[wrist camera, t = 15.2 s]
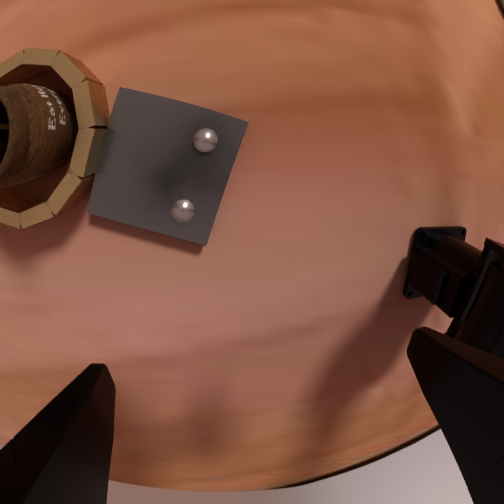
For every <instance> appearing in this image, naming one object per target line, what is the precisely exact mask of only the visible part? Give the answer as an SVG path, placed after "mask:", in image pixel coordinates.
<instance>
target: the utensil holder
mask: <svg viewBox="0 0 504 504" xmlns="http://www.w3.org/2000/svg"><path fill="white" fill-rule="evenodd" d="M76 133H77V119H76V114H75V111H74V108H73V106H72V104H71V102H70V101H69V100H68V99H67V98H66V97H65V96H64V95H63V94H61V93H59V92H58V91H55V90H52V89H49V88H45V87H41V86H36V85H30V84H12V85H8V86H0V187H10V186H15V185H19V184H22V183H25V182H28V181H31V180H34V179H37V178H39V177H42V176H44V175H47V174H49V173H51V172H52V171H54V170H55V169H57V168H58V167H59V166H60V165H61V164H62V163H63V162H64V161H65V160H66V158H67V157H68V155H69V154H70V152H71V150H72V148H73V145H74V142H75V138H76Z"/></svg>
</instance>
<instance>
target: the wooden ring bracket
mask: <svg viewBox="0 0 504 504" xmlns="http://www.w3.org/2000/svg"><path fill="white" fill-rule="evenodd" d="M44 70H45V71H56V72H57V73H58V74H59V75H60V76H61V77H62V79H63V80H64V81H65V82H66V83H67V84H68V85H69V86H70V87H71V88H72V92H73V98H74V104H75V110H76V116H77V121H78V126H79V130H78V134H77V138H76V142H75V146H74V150H73V155H72V159H71V164H70V169H69V172H68V173H67V174H66V176H65V177H64V178H63V180H62V181H61V182H60V184H59V185H58V186H57V188H56V189H55V191H54V192H53V193H52V195H51V196H50V198H49V199H46V200H44V201H41V202H40V201H36V200H33V199H29V198H26V197H22V196H19V195H16V194H15V193H14V191H13V190H12V189H11V188H10V187H0V223H3V224H6V225H9V226H12V227H15V228H18V229H20V228H22V229H24V228H26V227H29V226H31V225H34V224H36V223H39V222H42V221H44V220H47V219H50V218H53V217H54V216H56V215H57V214H59V213H61V212H62V211H64V210H65V209H67V208H68V207H70V206H72V205H73V204H74V203H75V202H76V201H77V200H78V199H79V197H80V196H81V195H82V194H83V192H84V191H85V190H86V189H87V187H88V186H89V185H90V184H91V183H92V181H93V180H94V182H93V186H92V191H91V196H90V202H89V207H88V213H89V214H92V215H96V216H99V217H103V218H107V219H110V220H114V221H117V222H121V223H124V224H128V225H132V226H135V227H139V228H142V229H146V230H150V231H153V232H157V233H160V234H164V235H168V236H171V237H175V238H179V239H182V240H186V241H189V242H193V243H197V244H200V245H204V246H206V245H207V242H208V239H209V235H210V232H211V229H212V226H213V223H214V220H215V217H216V214H217V211H218V208H219V205H220V202H221V199H222V196H223V193H224V190H225V187H226V184H227V181H228V178H229V175H230V172H231V170H232V167H233V164H234V161H235V158H236V155H237V153H238V150H239V147H240V144H241V141H242V139H243V136H244V133H245V130H246V128H247V125H248V122H246V121H243V120H241V119H238V118H235V117H231V116H228V115H225V114H222V113H219V112H216V111H212V110H209V109H206V108H202V107H199V106H196V105H192V104H188V103H185V102H181V101H177V100H174V99H170V98H166V97H162V96H158V95H153V94H149V93H145V92H140V91H136V90H131V89H126V88H121V87H120V89H119V92H118V95H117V98H116V101H115V104H114V107H113V110H112V113H111V116H110V115H109V110H108V104H107V99H106V93H105V87H103V86H102V85H103V84H102V83H101V81H100V80H99V79H98V78H97V77H96V76H95V75H94V74H93V73H92V72H91V71H90V70H89V69H88V68H87V67H86V66H85V65H84V64H83V63H82V62H81V61H80V60H78V59H76V58H74V57H72V56H70V55H68V54H66V53H64V52H62V51H60V50H55V49H25V50H21V51H20V52H18V53H16V54H15V55H13V56H12V57H10V58H9V59H7V60H6V61H4V62H3V63H1V64H0V86H8V85H12V84H20V83H22V82H24V81H26V80H27V79H29V78H31V77H33V76H34V75H36V74H38V73H40V72H42V71H44Z"/></svg>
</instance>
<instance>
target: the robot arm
mask: <svg viewBox="0 0 504 504" xmlns="http://www.w3.org/2000/svg"><path fill="white" fill-rule="evenodd" d="M421 232H422V234H421ZM420 234H421V235H420ZM465 237H466V228H464V227H462V226H452V227H420V228H418V229H417V230H416V233H415V238H414V244H413V249H412V255H411V260H410V264H409V269H408V274H407V278H406V283H405V287H404V291H403V296H404V297H405V298H407V299H410V298H415V297H421V296H424V297H425V298H426V299H428V300H429V301H430V302H431V303H432V304H433V305H436V306H437V307H438V308H440V309H441V310H442V311H443V312H444V313H445V314H446V315H447V316H448V317H450V318H452V317H453V320H452V322H451V324H450V326H449V328H448V330H447V332H446V333H444V334H442V333H440V332H437V331H435V330H433V329H430V328H428V327H421V328H417V329H415V330H414V331H413V333H412V336H411V339H410V342H409V345H408V347H407V356H408V359H409V361H410V363H411V366H412V368H413V370H414V373H415V375H416V378H417V380H418V382H419V385H420V387H421V390H422V392H423V394H424V396H425V398H426V400H427V402H428V404H429V406H430V408H431V410H432V412H433V414H434V416H435V418H436V420H437V422H438V424H439V426H440V428H441V430H442V432H443V434H444V436H445V438H446V440H447V442H448V444H449V447H450V449H451V451H452V453H453V455H454V457H455V460H456V462H457V464H458V466H459V469H460V471H461V473H462V476H463V478H464V480H465V483H466V485H467V487H468V490H469V493H470V495H471V498H472V501H473V503H474V504H504V244H501V243H499V242H496V241H494V240H491V239H489V238H486V239H485V242H484V248H483V251H480V250H479V249H477V248H475V247H474V246H472V245H470V244H468V243H466V242H465ZM115 394H116V390H115V384H114V382H113V379H112V377H111V375H110V372H109V370H108V368H107V366H106V365H105V364H101V363H92V364H90V365H89V366H88V367H87V368H86V369H85V370H84V371H83V372H81V373H80V374H79V375H78V376H77V377H76V378H75V379H74V380H73V381H72V382H71V383H70V384H69V385H67V386H66V387H65V388H64V389H63V390H62V391H61V392H60V393H59V394H58V395H57V396H56V397H55V398H54V399H53V400H52V401H51V402H49V403H48V404H47V405H46V406H45V407H44V408H43V409H42V410H41V411H40V412H39V413H38V414H37V415H36V416H35V417H34V418H33V419H32V420H31V421H30V422H29V423H28V424H27V425H25V426H24V427H23V428H22V429H21V430H20V431H19V432H18V433H17V434H16V435H15V436H14V438H13V439H11V440H10V441H9V442H8V443H7V444H6V445H5V446H4V447H3V448H2V449H1V450H0V504H106V503H107V490H108V480H109V471H110V462H111V454H112V446H113V437H114V411H115Z"/></svg>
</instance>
